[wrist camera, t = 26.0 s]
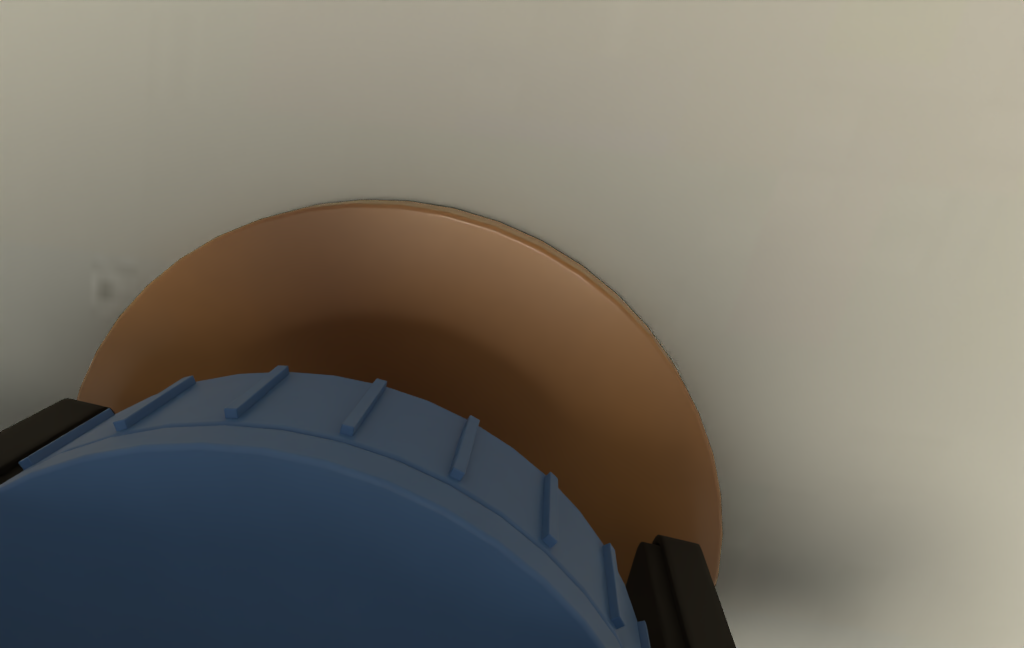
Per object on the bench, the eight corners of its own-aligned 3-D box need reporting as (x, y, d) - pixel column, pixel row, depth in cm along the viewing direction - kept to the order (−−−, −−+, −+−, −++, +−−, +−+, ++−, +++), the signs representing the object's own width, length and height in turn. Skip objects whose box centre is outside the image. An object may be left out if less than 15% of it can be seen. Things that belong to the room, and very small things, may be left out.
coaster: (234, 815, 12) (218, 849, 12) (-21, 312, 10) (-55, 322, 10) (778, 707, 11) (790, 738, 11) (615, 103, 9) (619, 100, 8)
